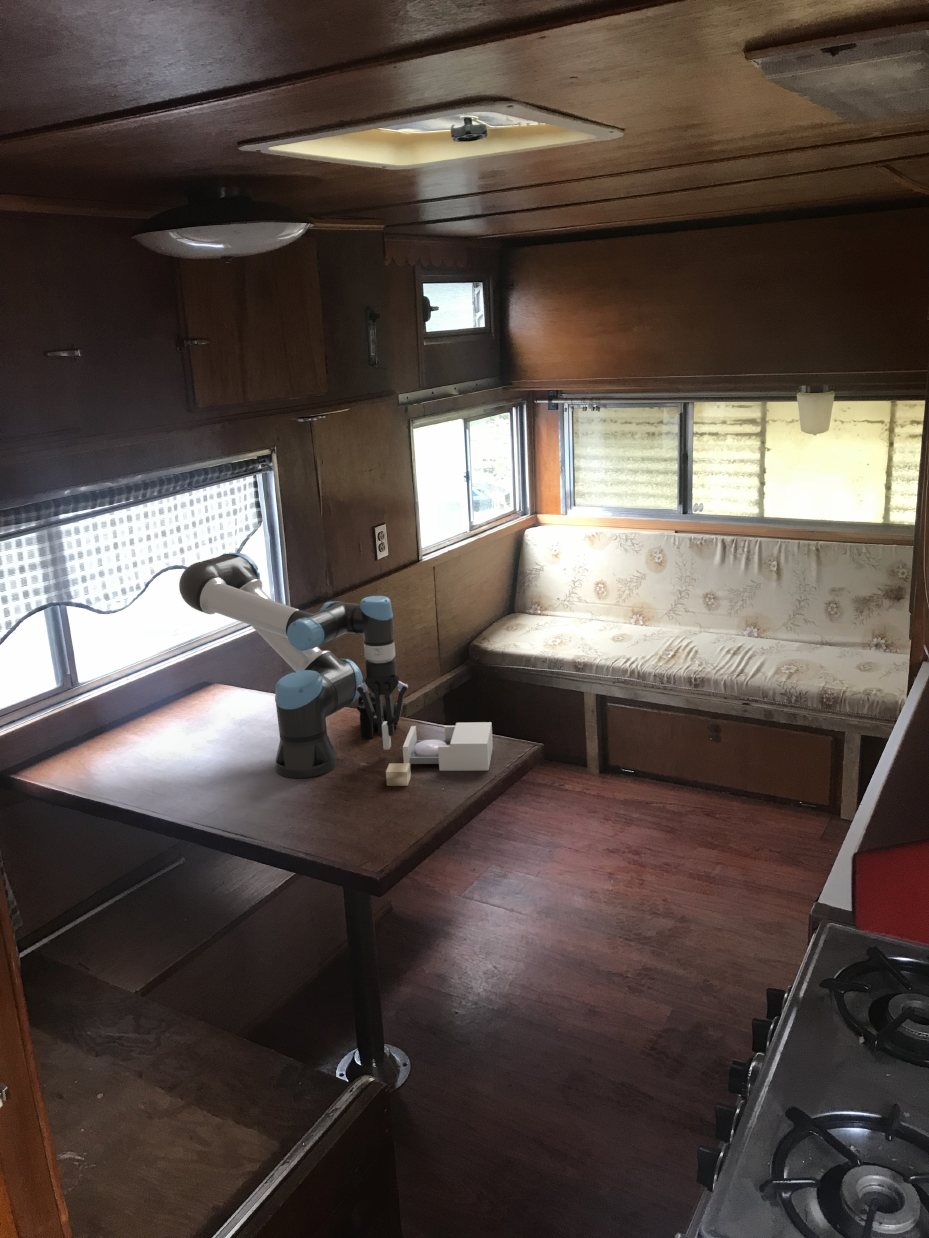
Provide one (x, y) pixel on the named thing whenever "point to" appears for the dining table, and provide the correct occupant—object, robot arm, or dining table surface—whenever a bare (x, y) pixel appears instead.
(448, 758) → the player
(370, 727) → the camera
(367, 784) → the dining table surface
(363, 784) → the dining table surface
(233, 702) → the dining table surface
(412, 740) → the tray
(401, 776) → the beige block
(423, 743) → the lid
